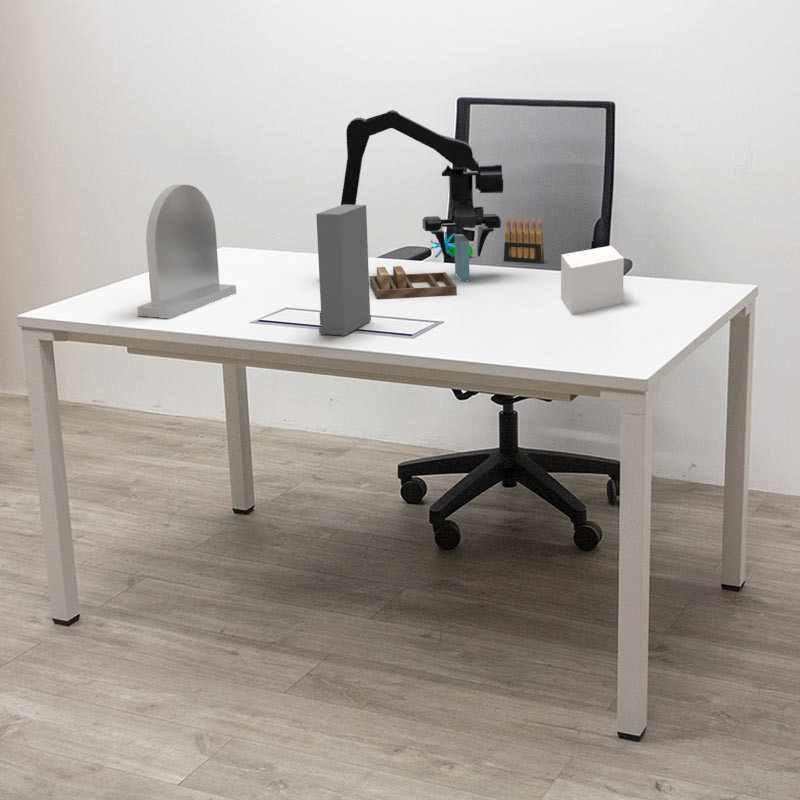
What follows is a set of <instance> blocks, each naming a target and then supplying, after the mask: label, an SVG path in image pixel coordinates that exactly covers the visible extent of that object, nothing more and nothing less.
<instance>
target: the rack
mask: <svg viewBox="0 0 800 800" xmlns="http://www.w3.org/2000/svg"><path fill="white" fill-rule="evenodd" d="M438 282H443V283H444V285H445V284H446V285H445V286H440V285H439V283H438ZM413 283H415V284H416V283H428V285H429V286H428V287H426V286H425V287H424V286H423V287H414V286H413ZM389 284H390V289H384V290H380V289H379V287H378V285H377V275H369V286H370V287H371V290H372V291H373V294H374V295H375V298H376V300H385V299H386V300H387V299H388V300H389V299H401V298H402V299H403V298H407V299H408V298H420V297H421V298H422V297H441V296H442V297H443V296H457V294H458V293H457V292H458V289H457V285H456V283H454V281H453V280H452V278H450V276H449V274H448V273H446V272H445V271H444V272H427V273H426V272H425V273H423V272H422V273H406V287H407V288H404V289H397V288H396V286H395V284H394V281H393V274H389Z"/></svg>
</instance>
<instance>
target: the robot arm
mask: <svg viewBox="0 0 800 800" xmlns="http://www.w3.org/2000/svg"><path fill="white" fill-rule="evenodd" d="M391 129H393V130H395V131H398V132H399V133H401V134H403V135H405V136H407V137H409V138H411V139H413V140H415V141H417V142H419V143H420V144H423V145H425V146H426V147H429V148H431V149H432V150H434V151H436V152H437V153H438V154H439V155H441V156H442V157H443V158H444V159H445V160H446V161H449V163H450V164H452V165H453V166H455V167H458V168H452V167H450V165H448V164H447V165H446V167H445V169H444V170H443V171H441V176H442V177H448V188H449V190H448V192H449V198H448V199H449V218H445V219H442V218H440V216H439V215H435V216H424V217H423V218H422V228H423V230H424V231H425V232H430V233H431V235H435V238H436V239H437V243H439V245H440V247H439V248H440V250H442V253H441V254H442V257H443V256H444V258H445V259H446V258H447V254H446V247H445V231H444V230H443V228H445V227H446V228H447V227H451V228H452V227H456V228H457V229H458V230H459V229H465V228H466V229H475V228H476V226H478V230H477V242H476V243H477V245H476V248H477V249H476V252H477V253H476V254H477V257H479V258H480V256H481V254H482V250H483V247H484V244H485V242H486V240H487V237H488V235H489V234H490V233H492V232H494V231H495V229H500V228H501V226H502V225H501V223H502V222H501V218H500V216H499V215H497V214H496V213H484V207H483V206H475V207H474V193H473V192H474V191H473V189H474V188H475V190H477V191H479V194H503V193H504V179H503V165H502V164H494V165H479V161H477V160H476V159H475V158H474V155H473V150H472V147H471V146H470V144H469V143H467V142H466V141H464V140H461V139H457V138H453V137H450V136H446V135H442V134H440V133H437V132H435V131H434V130H431V129H430V128H427V127H426V126H424V125H422V124H420V123H418V122H416V121H415V120H412V119H410V118H409V117H406V116H404V115H403V114H400V113H399V112H398V111H396V110H392V109H391V110H388V111H387V112H384V113H381V114H378V115H374V116H372V117H368V118H363V117H355V118H353V119H352V120H351V121H350V122H349V123H348V125H347V127H346V131H345V132H346V151H347V157H346V167H345V173H344V180H343V186H342V193H341V200H340V206H341V205H343V204H345V205H357V198H358V192H359V183H360V176H361V170H362V164H363V163H362V162H363V157H364V154H365V151H366V148H367V145H368V143H369V140H370V136H374V135H377V134H380V133H381V132H384V131H386V130H387V131H388V130H391ZM463 167H464V168H465V169H468V170H469V171H464V168H463ZM473 176H474V185H475V187H474V188H473Z"/></svg>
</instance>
